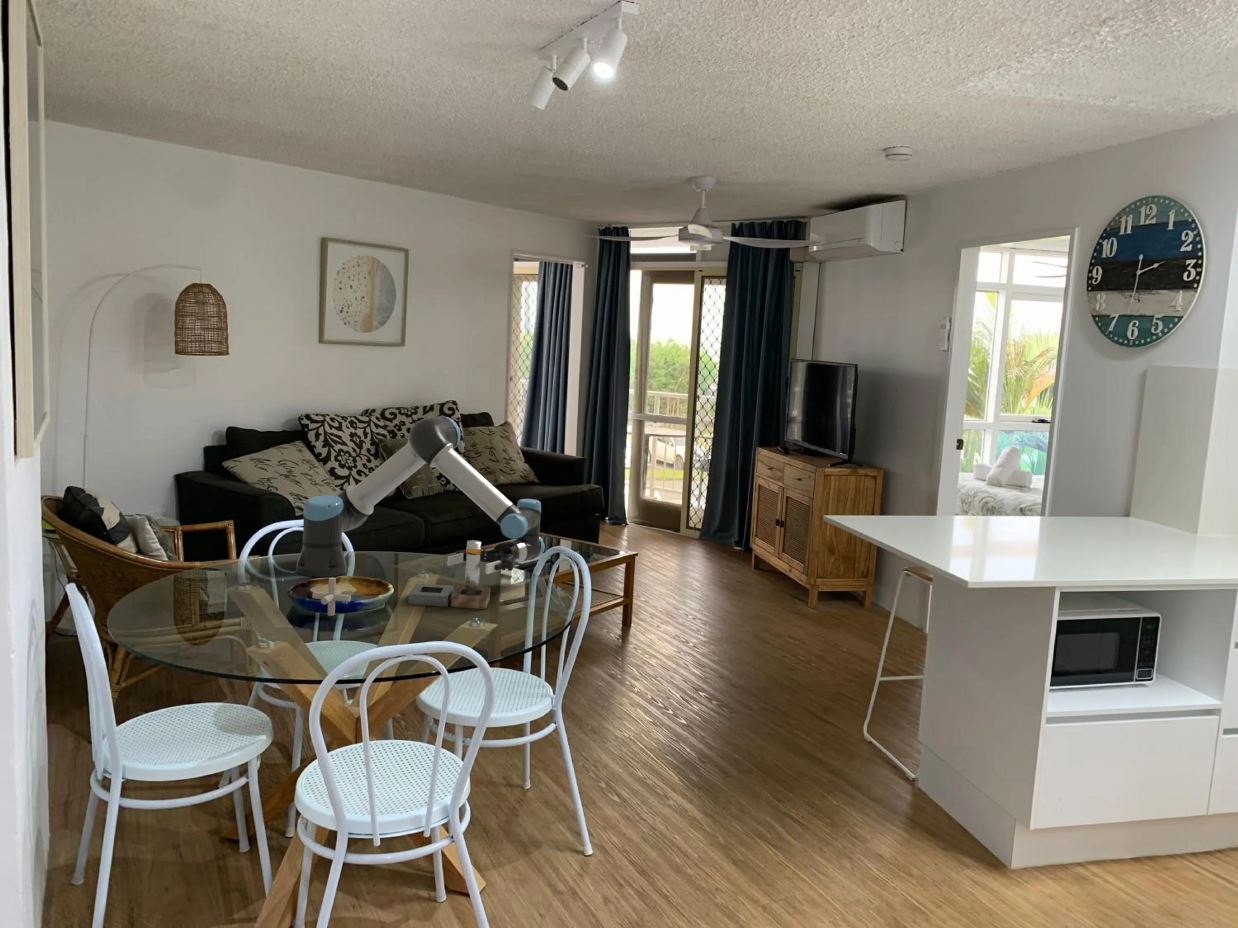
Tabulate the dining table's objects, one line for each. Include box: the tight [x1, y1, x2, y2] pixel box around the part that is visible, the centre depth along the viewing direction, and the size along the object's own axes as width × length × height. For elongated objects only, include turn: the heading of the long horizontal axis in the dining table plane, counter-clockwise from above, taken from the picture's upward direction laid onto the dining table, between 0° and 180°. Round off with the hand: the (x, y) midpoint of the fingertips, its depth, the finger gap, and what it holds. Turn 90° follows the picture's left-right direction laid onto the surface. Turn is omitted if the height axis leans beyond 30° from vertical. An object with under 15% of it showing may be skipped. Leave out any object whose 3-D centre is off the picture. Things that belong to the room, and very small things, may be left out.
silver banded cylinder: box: [464, 539, 482, 595], centre depth 266 cm, size 4×4×18 cm
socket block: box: [407, 583, 454, 607], centre depth 266 cm, size 11×12×3 cm
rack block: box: [450, 585, 492, 610], centre depth 267 cm, size 10×12×3 cm
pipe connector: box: [312, 577, 352, 617], centre depth 245 cm, size 10×10×10 cm
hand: (467, 565), depth 263 cm, fingers open, 13 cm apart
